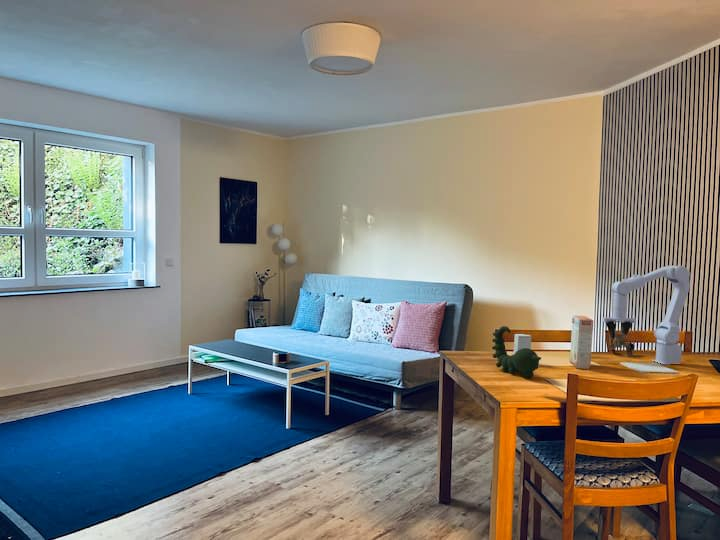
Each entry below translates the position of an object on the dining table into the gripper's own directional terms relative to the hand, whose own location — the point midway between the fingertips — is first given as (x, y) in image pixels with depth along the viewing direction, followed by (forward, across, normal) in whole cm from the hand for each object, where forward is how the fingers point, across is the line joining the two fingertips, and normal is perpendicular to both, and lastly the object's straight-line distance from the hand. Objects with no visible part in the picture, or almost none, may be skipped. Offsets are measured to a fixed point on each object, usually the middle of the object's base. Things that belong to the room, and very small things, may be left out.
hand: (618, 338), depth 236 cm
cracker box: (+11, +22, +11) cm, 27 cm away
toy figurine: (+11, +56, +28) cm, 64 cm away
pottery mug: (+11, -12, -15) cm, 22 cm away
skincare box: (+10, +46, +7) cm, 48 cm away
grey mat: (+10, -7, +13) cm, 18 cm away
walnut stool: (+3, 0, 0) cm, 3 cm away
